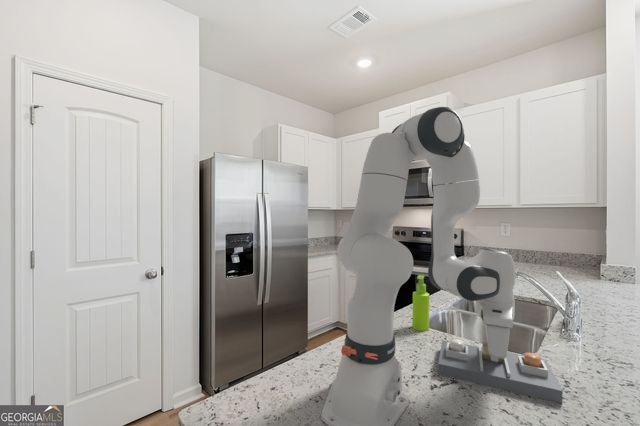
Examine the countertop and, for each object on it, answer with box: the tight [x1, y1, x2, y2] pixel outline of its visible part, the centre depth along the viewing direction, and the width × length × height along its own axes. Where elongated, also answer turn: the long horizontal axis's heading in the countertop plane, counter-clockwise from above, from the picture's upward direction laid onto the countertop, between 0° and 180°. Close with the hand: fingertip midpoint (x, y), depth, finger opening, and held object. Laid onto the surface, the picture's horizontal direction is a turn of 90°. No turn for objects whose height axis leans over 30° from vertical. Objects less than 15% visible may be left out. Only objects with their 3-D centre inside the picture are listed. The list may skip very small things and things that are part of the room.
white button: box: [450, 338, 465, 352], centre depth 87 cm, size 4×4×2 cm
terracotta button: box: [523, 352, 542, 368], centre depth 79 cm, size 4×4×2 cm
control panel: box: [437, 339, 563, 404], centre depth 83 cm, size 16×27×5 cm, turn 64°
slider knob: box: [481, 342, 503, 363], centre depth 85 cm, size 4×5×3 cm
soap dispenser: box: [411, 274, 430, 332], centre depth 112 cm, size 6×7×20 cm
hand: (494, 359), depth 81 cm, fingers closed
